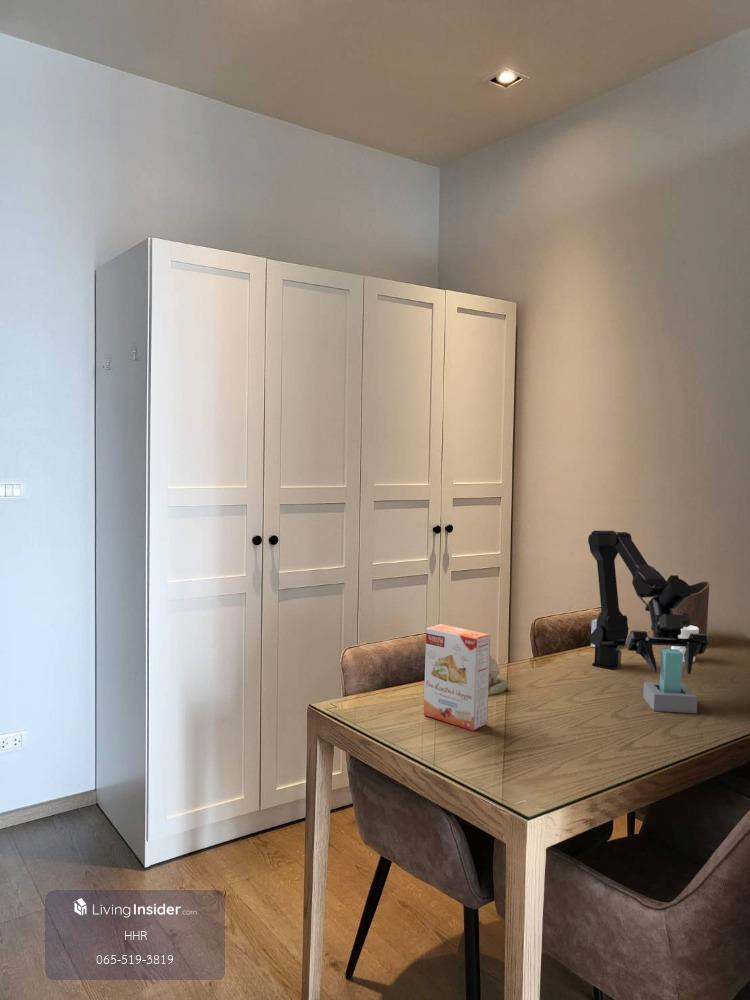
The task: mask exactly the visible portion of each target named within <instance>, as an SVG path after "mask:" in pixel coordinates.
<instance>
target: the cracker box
mask: <svg viewBox="0 0 750 1000" xmlns="http://www.w3.org/2000/svg"><path fill="white" fill-rule="evenodd" d="M425 629H426V632H425V660H424V665H425V667H424V687H423V689H424V692H423V693H424V695H423V716H425V717H429V718H432V719H435V720H438V721H442V722H444V723H448V724H450V725H453V726H457V727H461V728H463V729H466V730H469V731H473V732H474V731H476V730H478V729H481V728H482V727H484V726H487V724H488V711H489V710H488V708H489V707H488V706H489V695H488V687H489V660H490V656H491V655H490V654H491V634H489V633H484V632H479V631H475V630H470V629H466V628H461V627H457V626H452V625H449V624H444V623H439V624H436V625H431V626H428V627H426V628H425Z"/></svg>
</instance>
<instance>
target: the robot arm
mask: <svg viewBox="0 0 750 1000" xmlns="http://www.w3.org/2000/svg"><path fill="white" fill-rule="evenodd" d="M587 538H588V539H587V543H588V547H589V550H590V554H591V555H592V557H594V559H595V560H596V565H597V577H598V587H599V600H600V610H601V611H600V613H599V615H598V617H597V618H598V619H597V618H596V619H597V628H596V629H595V630H594V631H593V633H592V634H591V633H590V635H589V640H590V645H591V644H594V645H595V647H594V661H593V662H592V663H591V665H592V666H595V667H598V668H599V667H600V668H604V669H610V670H616V669H617V668H618V667H620V666H622V650H621V646H623V647H624V646H626V649H627V650H628V651H629V652H630V651H631V652H635V654H637V655H640V656H641V657H642V658H643V659H644V661H645V662H646V663H647V664H648V665H649V667H650V668H651V670H652V671H653V672H654V673H657V671H658V667H657V662H656V658H655V654H654V650H653V646H661V647H662V646H663V647H671V646H678V647H685V649H686V651H685V653H684V659H685V662H684V664H685V670H686V673H687V675H691V672H692V667H693V663H694V662H693V657H695V656H696V657H697V655H704V654H705V651H706V650H707V648H708V647H707V646H708V644H709V643H710V641H709V640H710V639H709V637H708V635H707V636H706V635H705V634H694V633H690V636H689V638H688V639H682V638H678V635H680V634H681V629H683V627H688V626H690V624H691V622H690V616H689V613H681V614H680V615H674V613H673V609H676V608H678V607H679V606H680V605H681V604H682V603H683V602H684V601H685V600H686V599H687V598H688V597H689V596H690V595H691V593H692V590H691V587H690V586H691V584H688V583H687V582H686V581H685V580H683V579H681V578H679V575H677V574H676V575H674V574H673V575H672V574H671V575H670V576H668V578H667V579H665V577H664V576H663V575H662V574H661V573H660V572H659V571H658V570H657V569H656V568H655V569H656V570H655V569H653V568H651V567H650V566H651V565H650V564H648V562H647V561H646V559H645V558H644V556H643V554H642V553H641V552H640V550H639V548H638V547H637V546H636V544H635V543H634V541H633V539H632V535H631V533H629V532H627V531H615V530H593V531H591V533H590V534H589V535H588V537H587ZM617 555H619V556H620V558H621V559H622V561H623V562H624V564H625V565H626V567H627V568H628V570H629V572H630V573H631V576H632V586H633V588H634V591H635V594H636V593H637V594H636V596H637V595H638V596H639V597H642V598H643V599H645V598H650V600H649V601H648V602H647V604H648V605H647V606H646V605H645V609H644V610H645V612H649V616H650V621H651V626H650V628H651V631H652V633H653V634H654V637H652V636H649V635H648V632H647V631H646V630H631V631H630V632H629V629H630V628H629V625H628V617H627V615H624V614H623V613H622V612H621V610H620V605H619V594H618V584H617V583H618V582H617V571H616V562H615V560H616V558H617ZM649 565H650V566H649ZM638 596H637V597H638ZM639 597H638V598H639ZM653 634H652V635H653ZM696 657H695V658H696Z"/></svg>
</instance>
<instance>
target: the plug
mask: <svg viewBox="0 0 750 1000" xmlns="http://www.w3.org/2000/svg"><path fill="white" fill-rule="evenodd" d="M660 652H661V653H660V671H659V672H660V673H659V683H660V687H659V691H660V692H664V693H681V684H682V683H683V682H682V679H683V677H682V676H683V663H684V662H683V653H681V652H680V651H679V650H677V649H671V648H661V651H660Z"/></svg>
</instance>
